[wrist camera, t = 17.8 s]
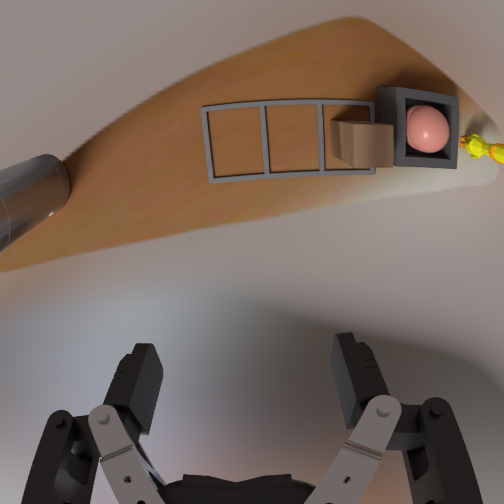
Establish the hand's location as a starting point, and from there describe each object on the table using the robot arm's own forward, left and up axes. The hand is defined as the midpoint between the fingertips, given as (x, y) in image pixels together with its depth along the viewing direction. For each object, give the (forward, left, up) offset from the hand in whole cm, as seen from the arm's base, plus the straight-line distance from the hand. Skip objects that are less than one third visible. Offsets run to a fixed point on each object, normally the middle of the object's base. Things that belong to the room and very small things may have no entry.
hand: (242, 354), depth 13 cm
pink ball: (+23, +8, -27) cm, 36 cm away
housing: (+23, +8, -28) cm, 37 cm away
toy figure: (+33, +7, -28) cm, 44 cm away
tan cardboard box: (+13, +6, -28) cm, 31 cm away
